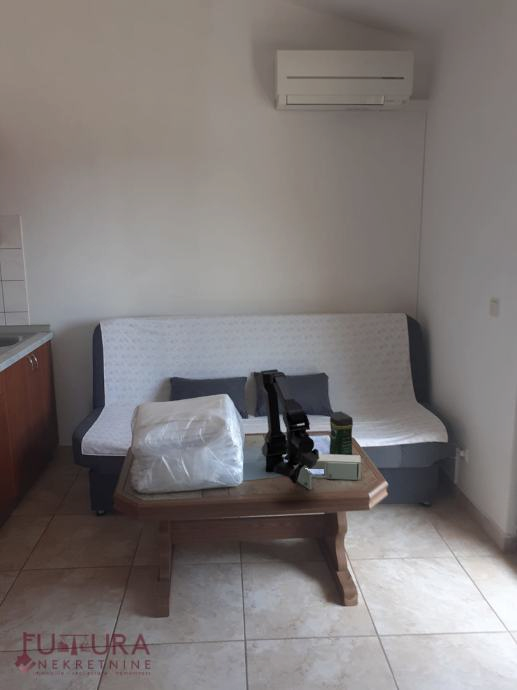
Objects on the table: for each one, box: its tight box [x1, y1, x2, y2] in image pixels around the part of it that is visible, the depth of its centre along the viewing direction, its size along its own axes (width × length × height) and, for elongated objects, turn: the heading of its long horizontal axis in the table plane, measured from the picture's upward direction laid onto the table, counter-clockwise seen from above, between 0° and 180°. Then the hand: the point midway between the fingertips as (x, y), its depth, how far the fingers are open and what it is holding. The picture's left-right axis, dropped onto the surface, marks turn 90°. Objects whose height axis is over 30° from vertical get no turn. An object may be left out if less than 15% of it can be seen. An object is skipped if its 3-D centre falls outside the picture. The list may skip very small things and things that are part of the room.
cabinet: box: [303, 453, 362, 481], centre depth 211 cm, size 26×8×7 cm, turn 83°
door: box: [297, 467, 313, 490], centre depth 205 cm, size 12×2×7 cm, turn 31°
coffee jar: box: [329, 411, 354, 455], centre depth 226 cm, size 10×8×19 cm
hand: (294, 483), depth 199 cm, fingers closed
